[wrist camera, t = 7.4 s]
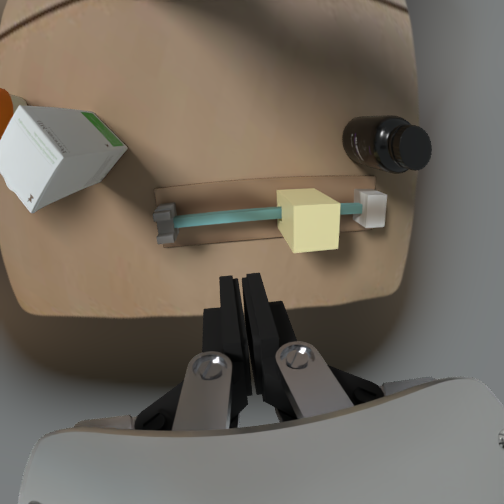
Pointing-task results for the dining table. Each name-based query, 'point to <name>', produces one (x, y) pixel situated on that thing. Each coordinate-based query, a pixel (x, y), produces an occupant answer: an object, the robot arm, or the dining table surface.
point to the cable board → (257, 208)
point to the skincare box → (55, 153)
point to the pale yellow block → (308, 220)
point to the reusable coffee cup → (8, 108)
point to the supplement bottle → (387, 143)
